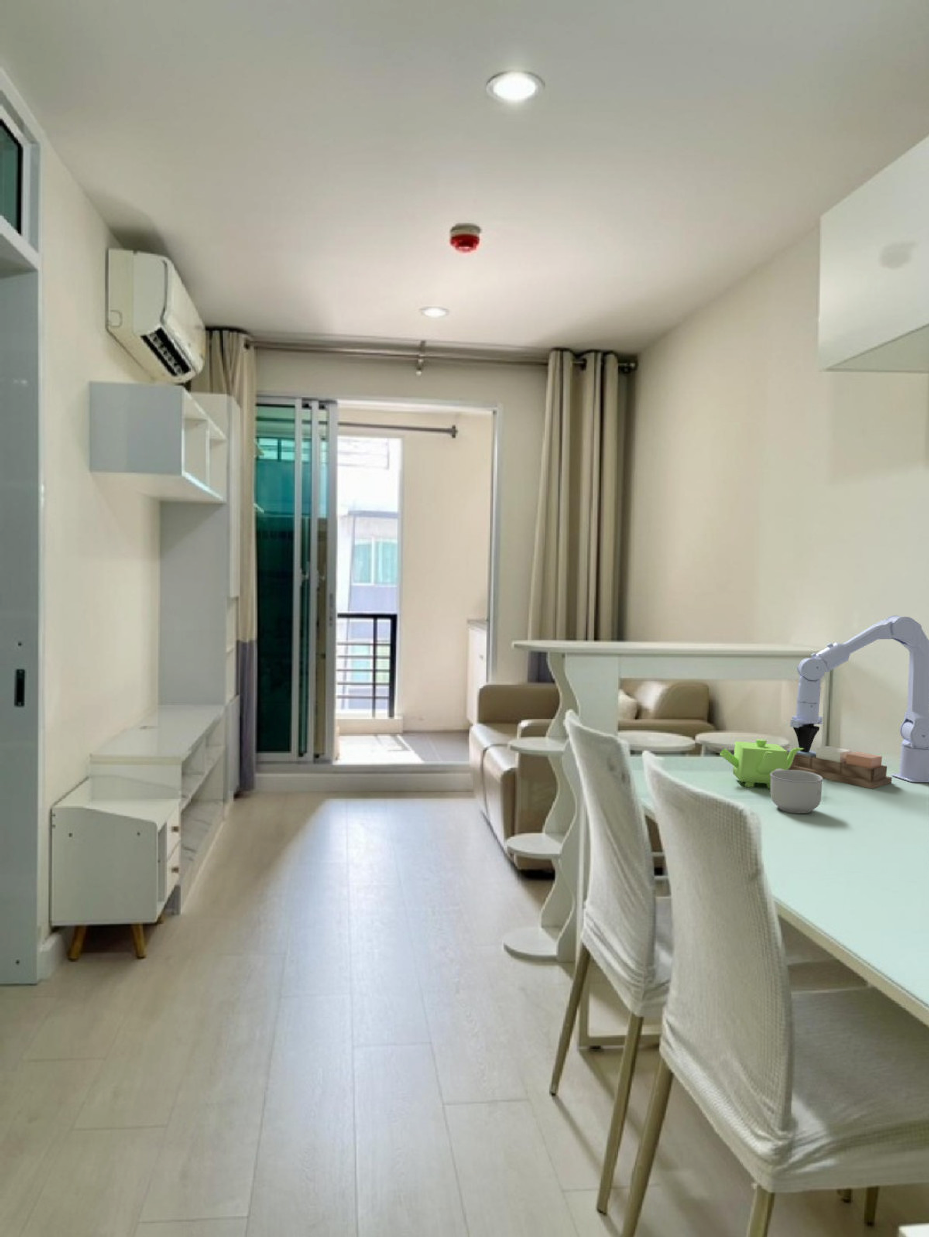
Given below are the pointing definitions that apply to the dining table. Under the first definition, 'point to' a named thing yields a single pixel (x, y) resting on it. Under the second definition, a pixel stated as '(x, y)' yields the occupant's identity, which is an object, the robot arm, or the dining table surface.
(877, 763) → the terracotta key
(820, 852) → the dining table surface
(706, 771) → the dining table surface
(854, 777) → the wooden compartment tray
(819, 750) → the cream key
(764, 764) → the kettle
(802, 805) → the teacup
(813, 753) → the slate blue key
